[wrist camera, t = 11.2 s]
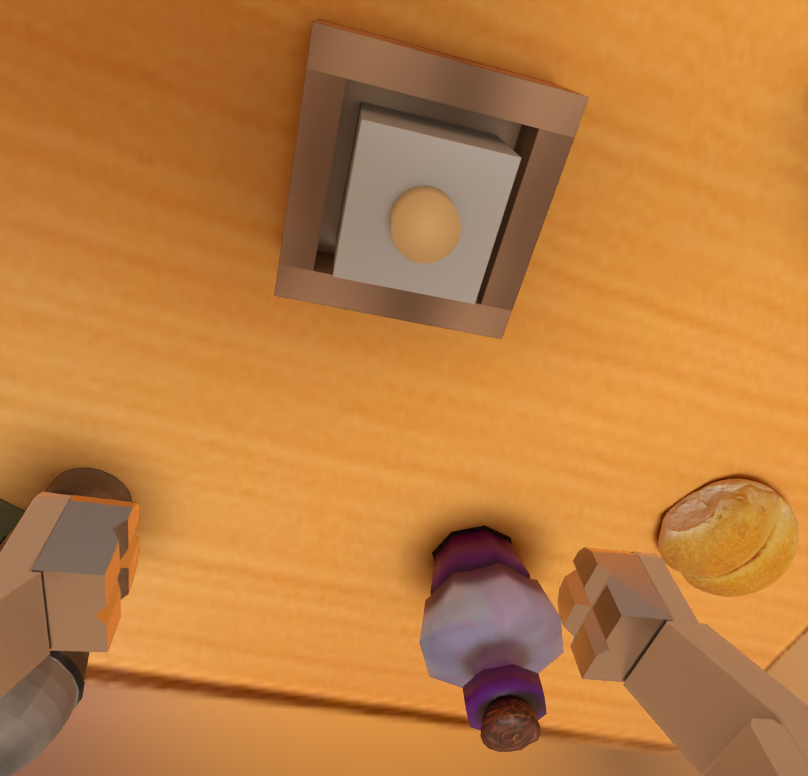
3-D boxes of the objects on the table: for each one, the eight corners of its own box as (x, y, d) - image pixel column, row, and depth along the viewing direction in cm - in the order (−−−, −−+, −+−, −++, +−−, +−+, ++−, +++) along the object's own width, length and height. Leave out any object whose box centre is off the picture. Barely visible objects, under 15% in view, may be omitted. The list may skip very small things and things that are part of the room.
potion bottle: (516, 603, 44) (564, 784, 34) (397, 594, 42) (411, 779, 32) (554, 515, 39) (624, 692, 29) (424, 501, 38) (449, 682, 28)
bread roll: (700, 585, 44) (729, 633, 41) (632, 525, 41) (657, 572, 37) (806, 522, 42) (846, 568, 38) (744, 452, 38) (781, 496, 35)
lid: (336, 237, 27) (331, 289, 22) (360, 101, 24) (362, 125, 19) (458, 263, 28) (480, 317, 23) (495, 134, 25) (529, 165, 20)
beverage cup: (17, 441, 34) (-326, 882, 17) (155, 456, 35) (-34, 883, 18) (32, 536, 37) (-236, 976, 20) (156, 546, 38) (0, 971, 22)
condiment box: (284, 257, 29) (274, 295, 25) (319, 19, 24) (312, 22, 20) (483, 297, 31) (501, 339, 27) (554, 84, 26) (588, 97, 22)
